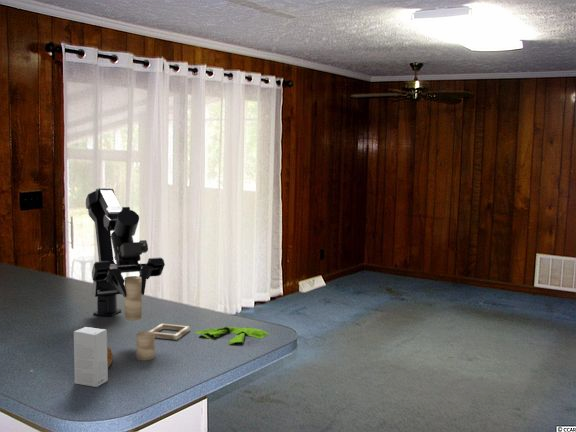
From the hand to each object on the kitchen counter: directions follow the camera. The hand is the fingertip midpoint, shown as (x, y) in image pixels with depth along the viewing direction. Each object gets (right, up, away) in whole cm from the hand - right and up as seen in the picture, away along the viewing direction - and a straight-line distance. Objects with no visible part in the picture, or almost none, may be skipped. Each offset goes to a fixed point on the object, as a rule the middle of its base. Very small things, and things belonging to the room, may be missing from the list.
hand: (134, 295), depth 155 cm
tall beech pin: (-1, -6, +2) cm, 7 cm away
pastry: (-5, -15, -12) cm, 20 cm away
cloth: (+24, -14, +10) cm, 29 cm away
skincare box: (-3, -16, -24) cm, 29 cm away
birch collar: (+7, -12, +11) cm, 18 cm away
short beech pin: (+5, -15, -8) cm, 17 cm away
